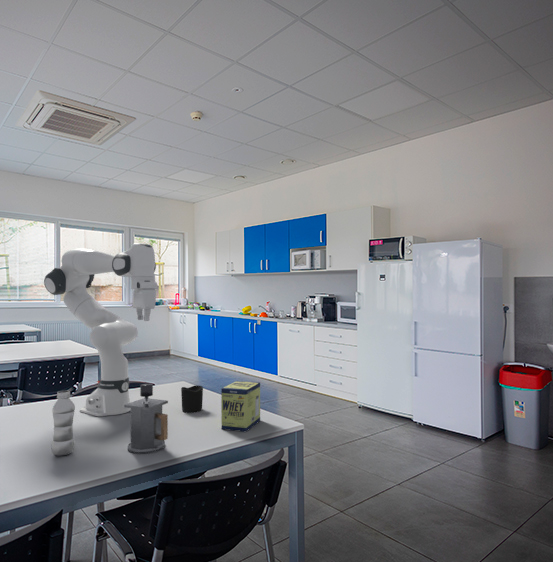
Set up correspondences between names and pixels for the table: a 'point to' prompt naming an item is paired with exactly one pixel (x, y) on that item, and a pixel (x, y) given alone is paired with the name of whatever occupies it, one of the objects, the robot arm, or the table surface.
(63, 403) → the plastic bottle
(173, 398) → the table surface
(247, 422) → the protein box
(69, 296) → the robot arm
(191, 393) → the pen holder
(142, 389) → the plunger
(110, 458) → the table surface
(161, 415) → the press carafe
